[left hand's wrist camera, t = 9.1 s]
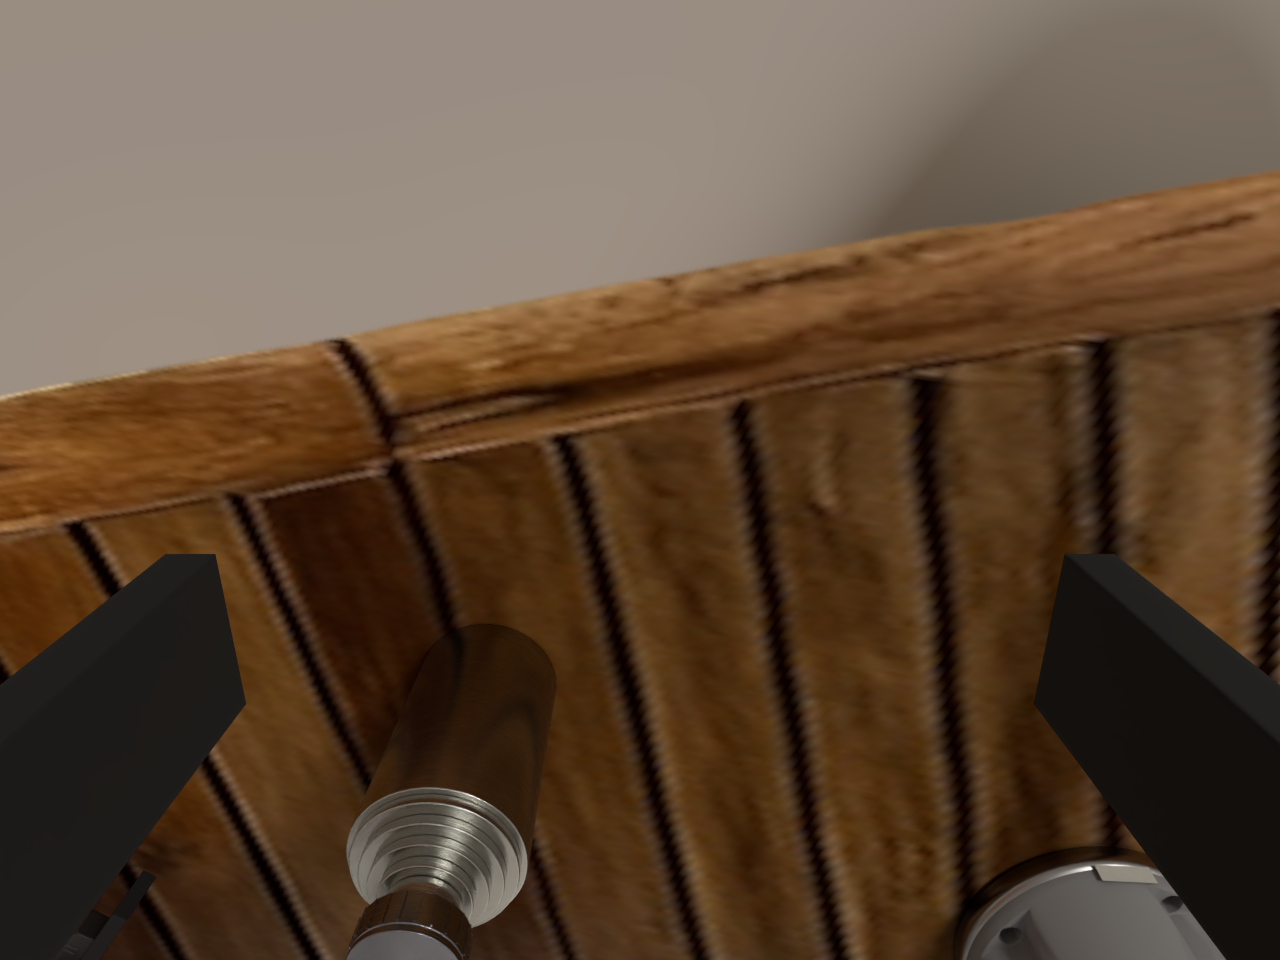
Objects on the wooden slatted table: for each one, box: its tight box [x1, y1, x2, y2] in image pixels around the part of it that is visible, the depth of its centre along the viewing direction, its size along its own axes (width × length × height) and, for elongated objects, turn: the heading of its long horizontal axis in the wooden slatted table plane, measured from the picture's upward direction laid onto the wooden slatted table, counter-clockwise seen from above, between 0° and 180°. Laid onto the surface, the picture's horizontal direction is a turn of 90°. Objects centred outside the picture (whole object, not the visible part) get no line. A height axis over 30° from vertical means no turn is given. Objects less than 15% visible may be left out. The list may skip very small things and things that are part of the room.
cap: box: [346, 890, 474, 960], centre depth 29 cm, size 4×4×2 cm
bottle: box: [346, 624, 556, 928], centre depth 37 cm, size 7×7×17 cm
